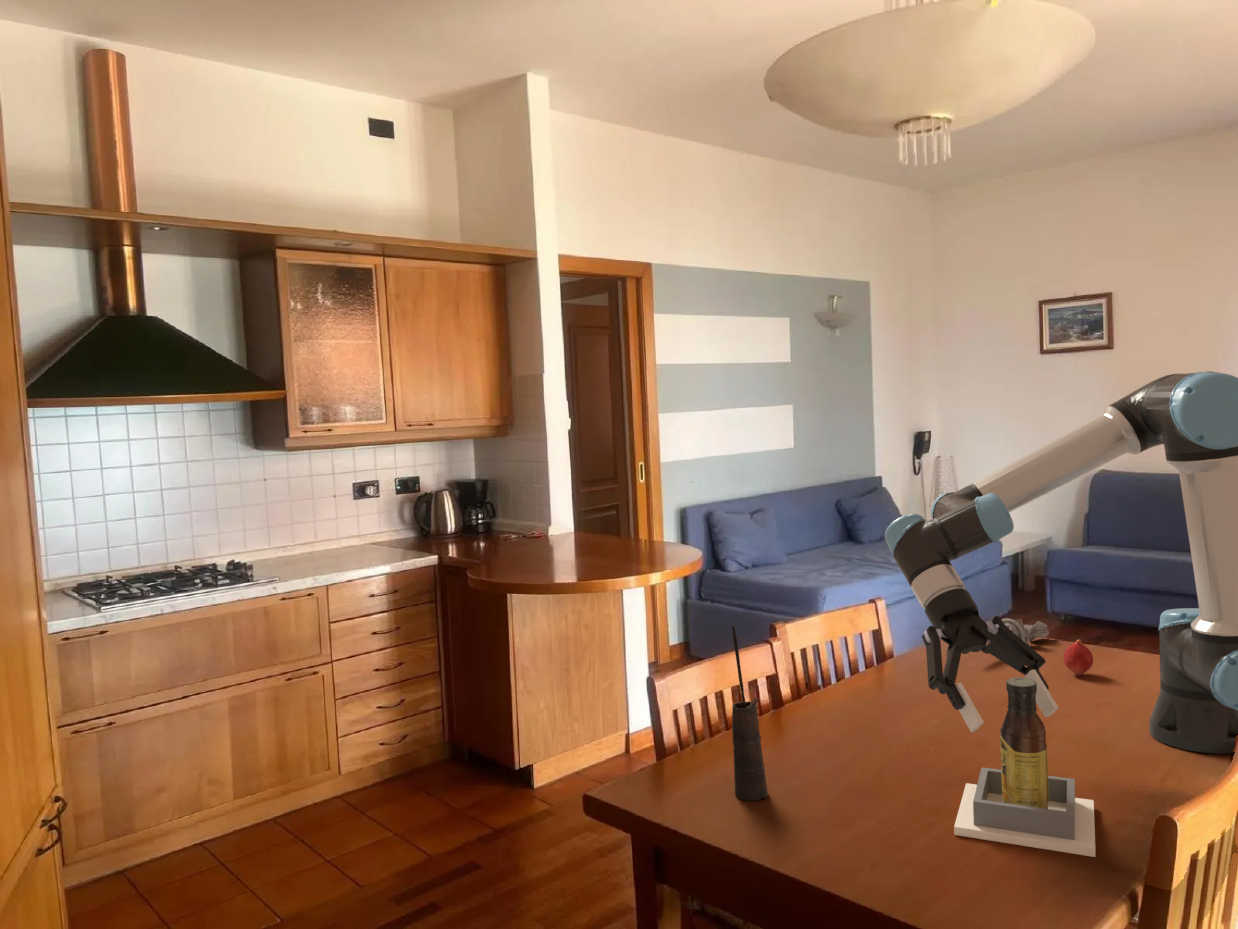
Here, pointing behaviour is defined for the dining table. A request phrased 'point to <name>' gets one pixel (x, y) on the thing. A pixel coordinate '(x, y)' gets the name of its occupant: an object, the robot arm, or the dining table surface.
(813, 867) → the dining table surface
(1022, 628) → the spaceship
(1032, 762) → the sauce bottle
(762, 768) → the butter churn
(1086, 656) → the onion
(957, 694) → the robot arm
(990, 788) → the bottle stand
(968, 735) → the dining table surface
